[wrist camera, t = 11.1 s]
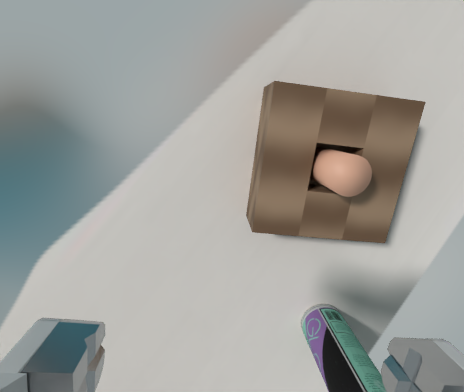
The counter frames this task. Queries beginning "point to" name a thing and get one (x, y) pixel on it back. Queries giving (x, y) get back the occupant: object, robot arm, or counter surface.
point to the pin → (341, 171)
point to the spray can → (339, 352)
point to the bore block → (336, 138)
